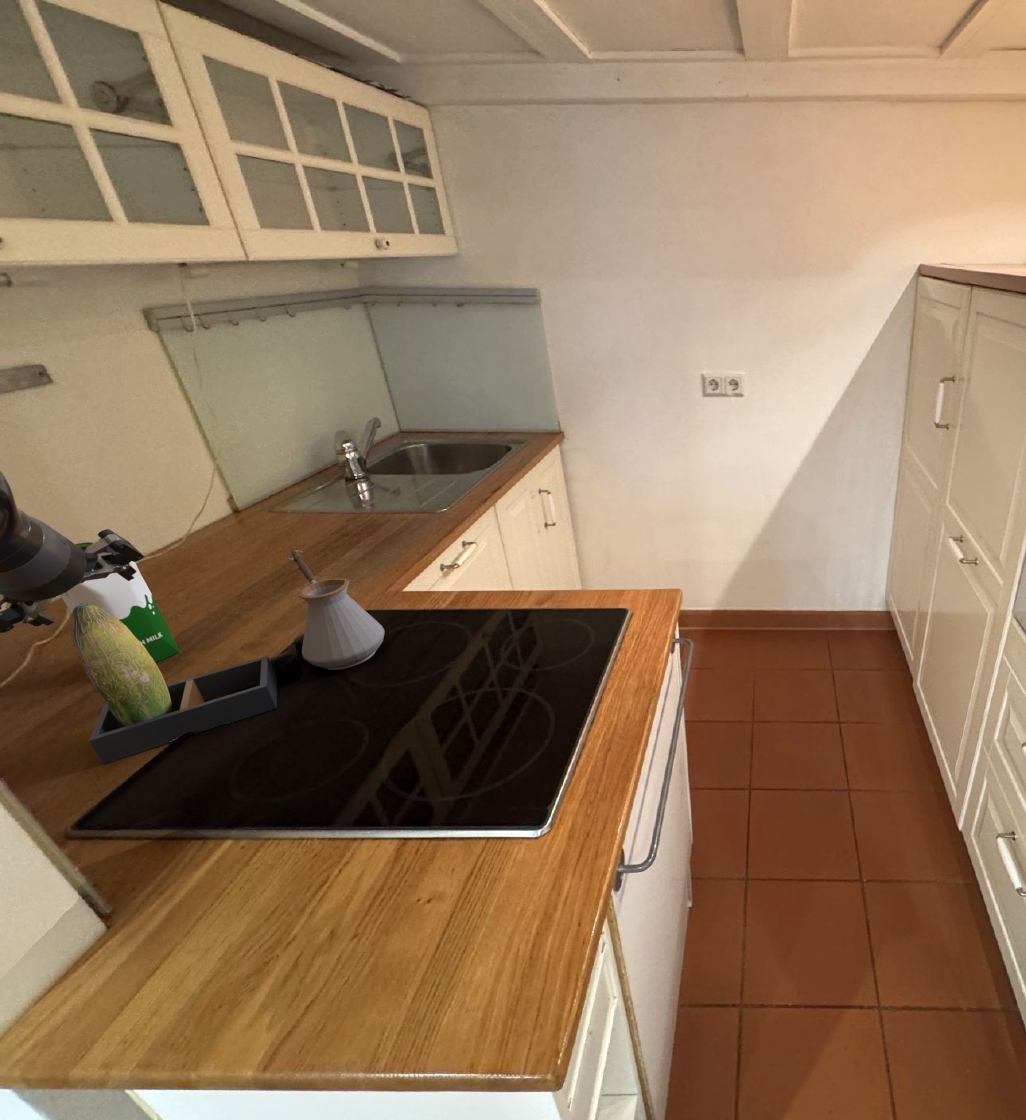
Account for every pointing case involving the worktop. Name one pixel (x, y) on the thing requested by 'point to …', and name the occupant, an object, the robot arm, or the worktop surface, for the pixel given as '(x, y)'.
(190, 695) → the divided tray
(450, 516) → the worktop surface
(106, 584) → the milk carton
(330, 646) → the coffee pot
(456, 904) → the worktop surface
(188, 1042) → the worktop surface
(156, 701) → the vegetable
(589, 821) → the worktop surface
